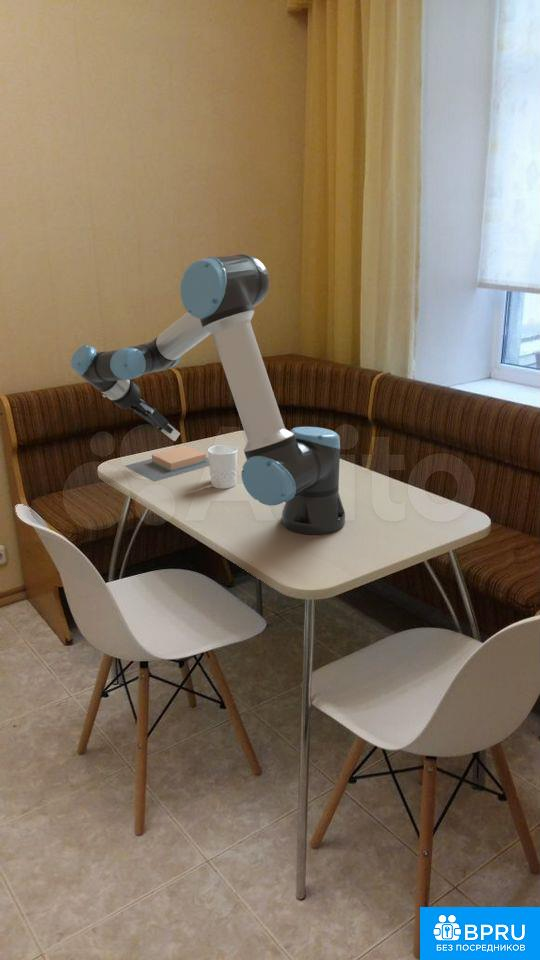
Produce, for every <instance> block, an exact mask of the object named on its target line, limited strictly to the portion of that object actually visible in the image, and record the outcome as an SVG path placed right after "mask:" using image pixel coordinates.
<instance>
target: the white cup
mask: <svg viewBox="0 0 540 960" xmlns="http://www.w3.org/2000/svg"><path fill="white" fill-rule="evenodd" d="M207 453H208V454H207V456H208V457H207V458H209V466H208V468H209V476H210V483H211V486H212V487H214V488H215V489H222V490H225V489H231V488H233V487H235V486H237V475H238V447H236V446H234V445H230V444H218V445H213V446H210V447H209V448H208V449H207Z"/></svg>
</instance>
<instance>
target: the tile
mask: <svg viewBox="0 0 540 960" xmlns="http://www.w3.org/2000/svg"><path fill="white" fill-rule="evenodd" d="M206 455H207V454H206V453H205V452H202V451H200V450H197V449H194V448H193V447H190V446H188V445H183V446H180V447H176V448H171V449H168V450H164V451H159V452H156V453H152V454H151V459H152V463H154V464H156V465H158V466H160V467H162V468H164V469H166V470H168V471H170V472H173V471H176V470H180V469H184V468H187V467H191V466H194V465H198V464H201V463H205V462H206V457H207V456H206Z"/></svg>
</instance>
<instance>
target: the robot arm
mask: <svg viewBox="0 0 540 960" xmlns="http://www.w3.org/2000/svg"><path fill="white" fill-rule="evenodd" d="M270 280H271V279H270V274H269V271H268V269H267V267H266V266H265V264H264V263H262V261H260V259H258V258H257V257H255V256H252V255H250V254H234V255H224V256H223V255H222V256H209V257H206V258H202V259H197V260H196V261H195V260H194V261H193V262H192V263H191V264H190V265H188V266H187V268H185V271H183V277H182V279H181V280H180V285H179V286H180V288H179V292H180V293H179V294H180V299H181V303H182V306H183V307H184V309H185V311H186V313H184V314H183V315H182V316H180V317H179V318H178V319H177V320H176V321H174V322H173V323H172V324H171V325H170V326H167V328H166V329H165V330H164V331H162V332H161V333H159V335H157V336H156V337H155V338H154V339H153V340H151V341H149V342H146V343H142V344H137V345H133V346H128V347H125V348H119V349H113V350H107V351H98V350H97V348H95V347H93V346H91V345H90V344H83V345H81V346H80V347H79V348H77V349H76V350H75V351H74V353H73V355H71V356H72V357H71V358H70V368H72V370H73V371H74V372H76V373H77V374H78V375H79V377H81V378H83V379H84V380H85V381H86V382H87V383H89V384H90V385H91V386H93V387H94V388H95V389H96V390H98V391H99V392H101V394H102V397H103V398H106V397H107V399H109V400H110V401H111V402H113V404H115V405H116V406H117V407H119V408H120V409H121V410H126V409H129V410H131V411H133V412H135V413H136V414H138V416H140V417H141V418H143V419H144V420H145V421H146V422H148V423H149V424H150V425H153V426H154V427H155V428H157V431H159V432H162V433H163V434H164V435H166V436H167V437H168V438H169V439H170V440H172V442H173V441H174V442H176V441H177V439H178V438H179V437H180V435H181V433H180V432H179V431H178V430H177V429H176V428H175V427H173V426H172V425H171V424H170V423H169V422H170V421H169V420H168V419H167V418H165V416H164V415H163V414H162V413H161V412H160V411H158V410H157V408H156V407H155V406H154V405H153V404H149V403H148V402H147V399H145V398H144V397H141V396H140V394H141V389H140V387H139V386H138V385H137V384H136V383H135V382H134V381H132V380H134V379H138V378H140V377H141V376H143V375H147V374H151V373H154V372H159V371H163V370H169V369H171V368H173V367H175V366H176V365H178V363H179V362H180V359H181V357H182V356H183V355H185V354H186V353H187V352H189V351H190V350H191V349H193V348H194V347H196V345H198V344H199V343H201V342H202V341H203V340H205V339H206V338H207V337H209V336H210V335H212V338H213V341H214V344H215V346H216V349H217V352H218V355H219V359H220V362H221V364H222V367H223V370H224V373H225V374H224V375H225V377H226V380H227V383H228V386H229V389H230V391H231V395H232V397H233V398H232V399H233V400H234V404H235V407H236V409H237V412H238V415H239V418H240V422H241V424H242V428H243V431H244V433H245V437H246V440H247V441H246V444H245V446H244V448H243V452H244V456H245V459H246V461H245V462H244V463H243V466H242V470H241V473H240V475H241V481H242V484H243V486H244V488H245V490H246V492H247V493H248V494H249V496H250V497H251V498H253V499H254V500H255V501H258V503H260V504H262V505H265V506H271V507H272V506H273V507H274V506H278V505H281V504H282V503H285V504H284V506H283V509H282V512H281V523H282V524H283V526H284V527H285V528H286V529H288V530H290V531H292V532H294V533H298V534H303V535H304V534H305V535H326V534H331V533H334V532H337V531H339V530H340V529H342V528H343V527H344V526H345V523H346V512H345V509H344V505H343V501H342V499H341V496H340V492H339V491H340V489H339V485H340V484H339V482H340V458H341V444H340V443H341V441H340V440H341V437H340V435H339V434H338V433H337V432H335V431H334V430H331V429H329V428H324V427H319V426H296V427H293V428H292V429H291V430H288V429H287V428H286V427H285V424H284V421H283V418H282V415H281V412H280V408H279V406H278V402H277V400H276V397H275V393H274V390H273V388H272V385H271V381H270V379H269V375H268V372H267V368H266V366H265V363H264V360H263V357H262V354H261V351H260V348H259V345H258V342H257V339H256V335H255V332H254V329H253V327H252V323H251V321H252V318H253V317H254V314H255V310H254V308H256V307H257V306H258V305H260V304H261V303H262V302H263V301H264V300H265V298H266V297H267V295H268V293H269V290H270V286H271V281H270Z"/></svg>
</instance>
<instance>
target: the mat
mask: <svg viewBox="0 0 540 960" xmlns="http://www.w3.org/2000/svg"><path fill="white" fill-rule="evenodd" d="M124 467H126V469H127V468H128V469H129V470H131V471H132V472H135V473H138V474H139V475H141V476H144V477H145V478H147V479H148V480H150V481H153V482H158V481H161V480H165V479H169V478H172V477H175V476H178V475H182V474H185V473H190V472H193V471H196V470H200V469H204V468H207V467H209V457H207V456H206V462H205V463H201V464H198V465H194V466H191V467H187V468H184V469H180V470H176V471H173V472H170V471H168V470H166V469H164V468H162V467H160V466H158V465H156V464H154V463H152V458H149V459H145V460H141V461H138V462H134V463H130V464H126V465H124Z"/></svg>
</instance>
